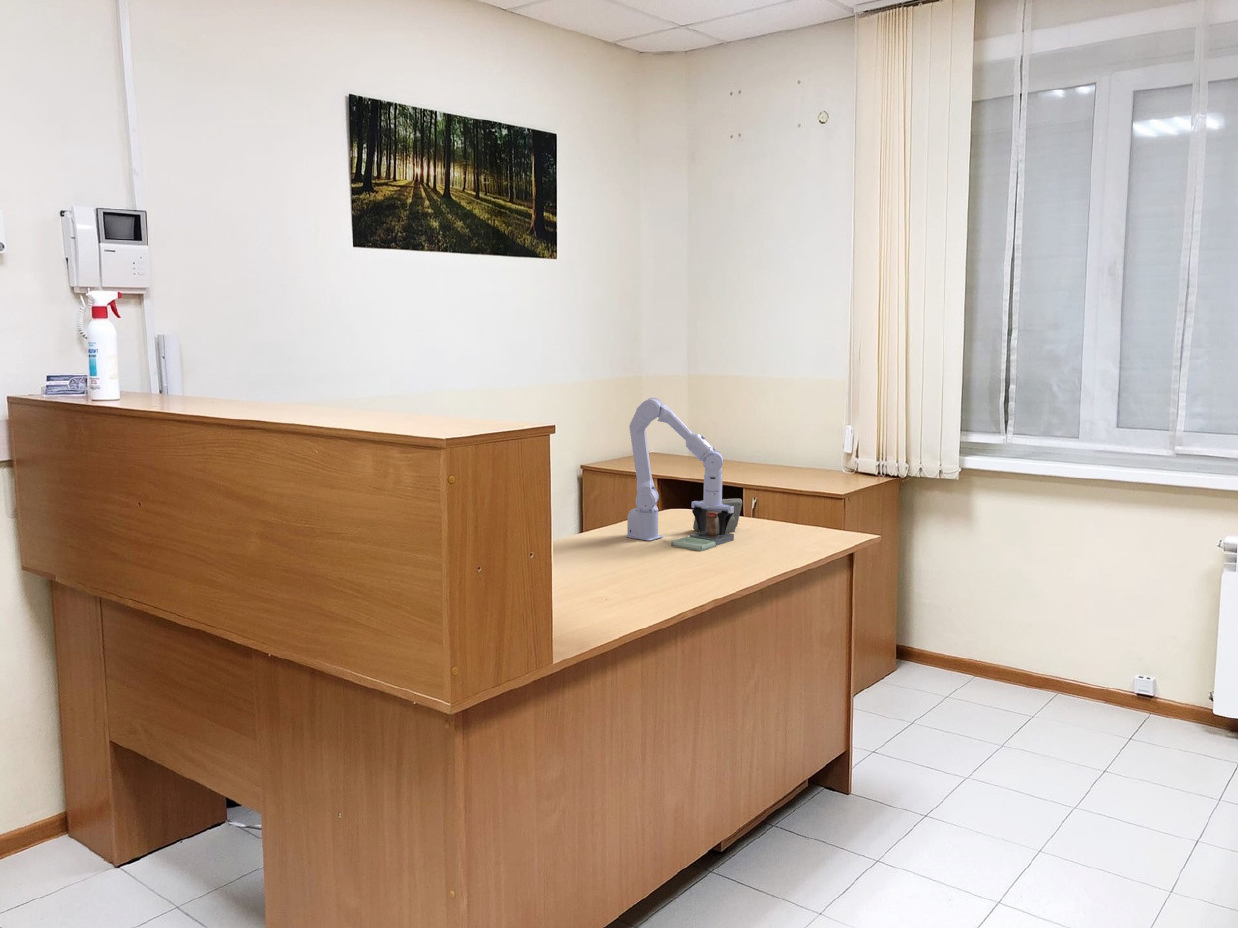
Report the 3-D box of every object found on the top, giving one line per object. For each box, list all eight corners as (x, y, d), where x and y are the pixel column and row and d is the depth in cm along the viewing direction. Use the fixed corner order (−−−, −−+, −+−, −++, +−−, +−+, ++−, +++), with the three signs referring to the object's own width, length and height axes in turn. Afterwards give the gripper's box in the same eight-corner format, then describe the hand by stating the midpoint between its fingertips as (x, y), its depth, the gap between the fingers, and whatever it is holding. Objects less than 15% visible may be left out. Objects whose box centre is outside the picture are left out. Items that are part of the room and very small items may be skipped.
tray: (671, 545, 303) (671, 540, 303) (686, 541, 309) (686, 536, 309) (701, 551, 296) (701, 546, 296) (715, 546, 302) (716, 541, 302)
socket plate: (689, 541, 310) (689, 534, 309) (707, 535, 317) (707, 529, 317) (716, 545, 303) (716, 539, 303) (733, 540, 311) (733, 534, 311)
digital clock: (737, 527, 331) (738, 496, 329) (745, 533, 322) (746, 501, 321) (690, 528, 329) (691, 497, 327) (696, 534, 320) (697, 502, 318)
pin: (703, 540, 310) (703, 513, 309) (709, 538, 313) (710, 511, 312) (713, 542, 308) (714, 514, 307) (720, 540, 311) (720, 512, 309)
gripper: (686, 489, 309) (685, 531, 311) (725, 494, 301) (724, 538, 302) (698, 486, 315) (698, 528, 317) (737, 491, 306) (736, 534, 308)
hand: (711, 533), depth 310 cm, fingers open, 7 cm apart
